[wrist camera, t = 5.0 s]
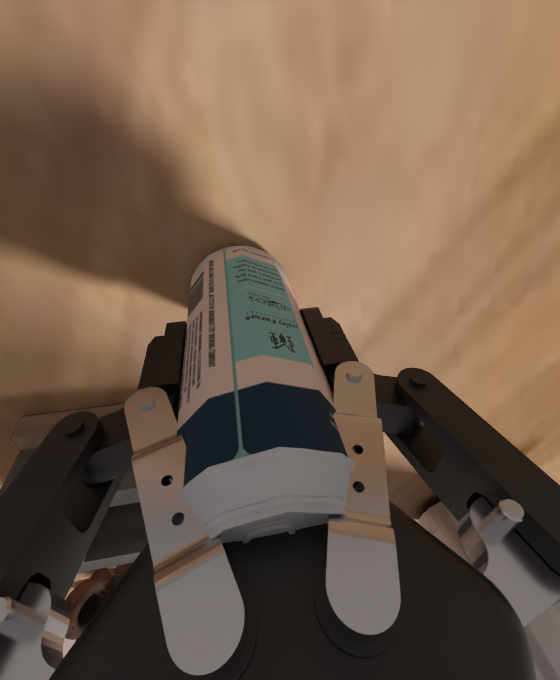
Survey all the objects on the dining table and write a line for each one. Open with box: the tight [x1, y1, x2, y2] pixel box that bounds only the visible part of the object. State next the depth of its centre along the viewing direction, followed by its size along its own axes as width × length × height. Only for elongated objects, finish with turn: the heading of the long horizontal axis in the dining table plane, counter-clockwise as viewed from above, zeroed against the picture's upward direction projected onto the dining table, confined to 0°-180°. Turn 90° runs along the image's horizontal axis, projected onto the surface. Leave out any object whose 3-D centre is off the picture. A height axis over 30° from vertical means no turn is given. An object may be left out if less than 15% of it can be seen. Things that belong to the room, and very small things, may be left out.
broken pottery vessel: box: [65, 563, 132, 641], centre depth 33 cm, size 12×9×8 cm
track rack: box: [0, 404, 148, 573], centre depth 22 cm, size 12×20×5 cm, turn 91°
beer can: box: [176, 246, 357, 543], centre depth 12 cm, size 5×5×12 cm
